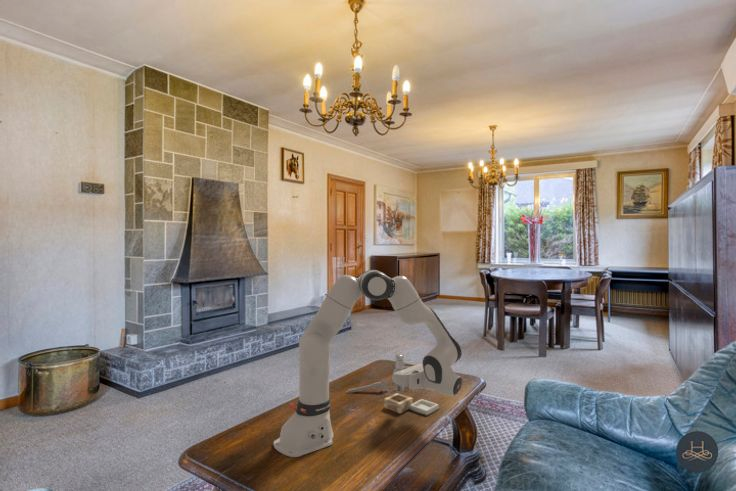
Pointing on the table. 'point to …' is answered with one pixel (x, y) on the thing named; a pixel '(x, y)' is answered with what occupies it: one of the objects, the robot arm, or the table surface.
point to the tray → (424, 407)
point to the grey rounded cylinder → (399, 366)
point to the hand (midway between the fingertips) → (398, 369)
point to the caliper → (374, 386)
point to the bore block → (398, 403)
